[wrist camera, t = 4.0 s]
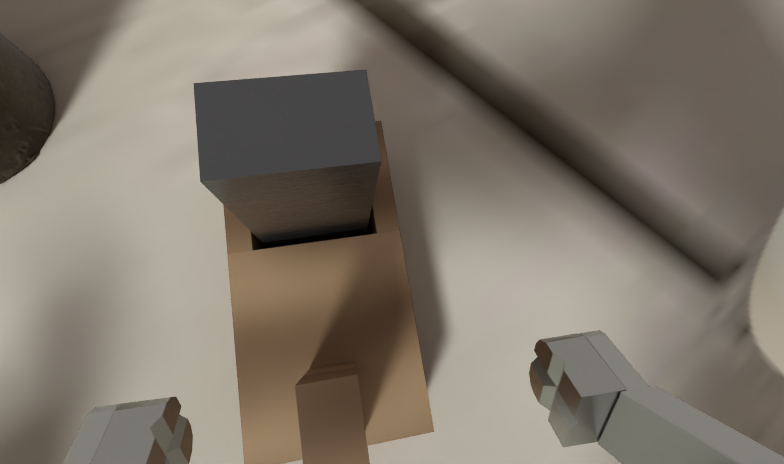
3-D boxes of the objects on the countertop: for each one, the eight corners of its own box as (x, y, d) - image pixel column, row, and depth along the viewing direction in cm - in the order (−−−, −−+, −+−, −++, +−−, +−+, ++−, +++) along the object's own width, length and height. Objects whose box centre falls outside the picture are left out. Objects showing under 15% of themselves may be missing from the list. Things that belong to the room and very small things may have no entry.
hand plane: (418, 412, 22) (466, 471, 13) (264, 443, 21) (203, 531, 12) (375, 153, 25) (391, 58, 16) (239, 167, 24) (176, 75, 15)
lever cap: (364, 243, 23) (381, 161, 12) (275, 255, 23) (200, 181, 11) (354, 181, 24) (362, 46, 13) (268, 191, 23) (192, 58, 12)
